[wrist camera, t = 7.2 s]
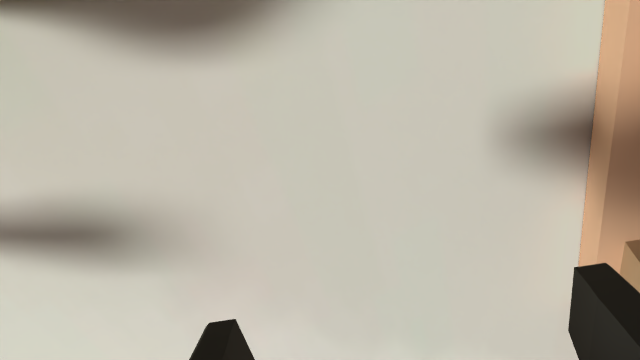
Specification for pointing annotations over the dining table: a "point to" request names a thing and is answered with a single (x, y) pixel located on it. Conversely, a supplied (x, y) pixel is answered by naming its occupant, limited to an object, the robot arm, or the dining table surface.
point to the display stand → (615, 148)
